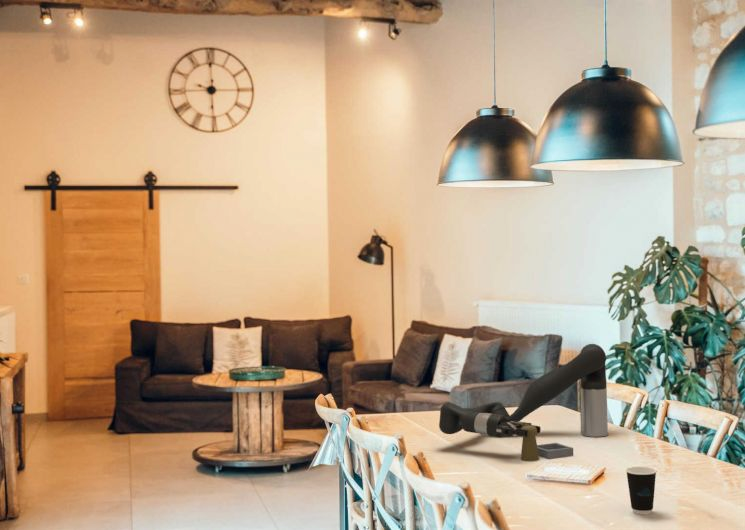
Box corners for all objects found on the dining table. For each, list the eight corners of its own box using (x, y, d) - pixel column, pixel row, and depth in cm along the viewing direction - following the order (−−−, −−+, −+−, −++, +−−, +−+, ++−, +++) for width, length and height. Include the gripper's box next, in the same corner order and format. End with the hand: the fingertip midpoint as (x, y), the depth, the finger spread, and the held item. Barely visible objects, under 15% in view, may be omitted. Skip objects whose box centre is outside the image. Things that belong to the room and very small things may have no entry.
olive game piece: (517, 459, 315) (516, 426, 314) (527, 456, 319) (526, 423, 319) (532, 462, 310) (531, 428, 310) (542, 458, 315) (541, 425, 315)
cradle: (531, 453, 323) (531, 445, 323) (556, 450, 327) (556, 442, 327) (547, 459, 314) (547, 451, 314) (573, 455, 318) (573, 447, 318)
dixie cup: (644, 517, 243) (643, 474, 243) (620, 511, 250) (618, 469, 249) (664, 512, 248) (663, 469, 248) (640, 506, 254) (638, 465, 254)
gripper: (501, 433, 328) (543, 439, 319) (479, 439, 317) (523, 446, 307) (501, 411, 328) (544, 417, 318) (480, 416, 317) (524, 423, 307)
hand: (534, 431), depth 313 cm, fingers open, 8 cm apart
